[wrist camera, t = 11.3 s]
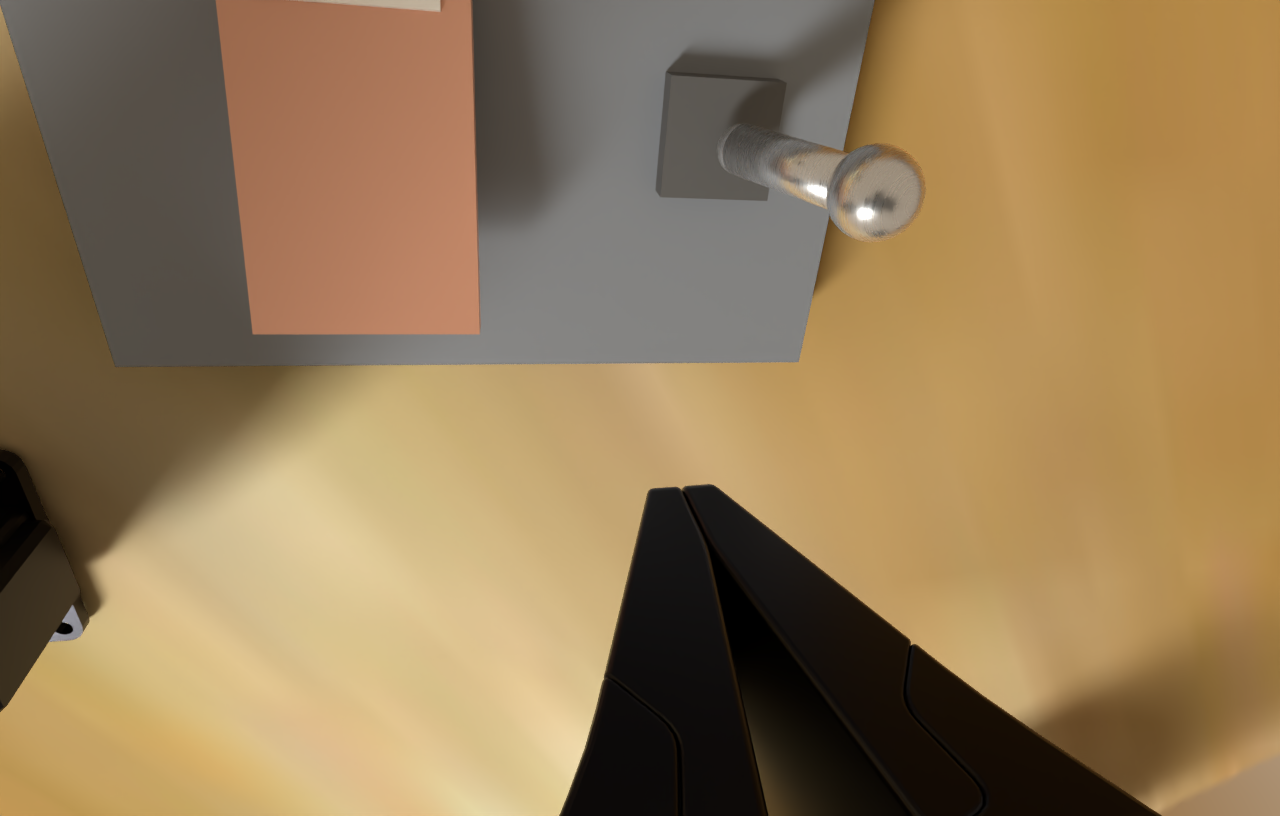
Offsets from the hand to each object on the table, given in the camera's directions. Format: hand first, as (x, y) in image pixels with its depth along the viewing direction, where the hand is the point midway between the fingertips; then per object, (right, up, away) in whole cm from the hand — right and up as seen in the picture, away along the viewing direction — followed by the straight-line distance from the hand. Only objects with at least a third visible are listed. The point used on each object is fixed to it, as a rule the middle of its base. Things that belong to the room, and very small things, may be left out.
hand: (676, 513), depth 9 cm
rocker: (-5, +6, +4) cm, 9 cm away
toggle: (+1, +7, +6) cm, 9 cm away
